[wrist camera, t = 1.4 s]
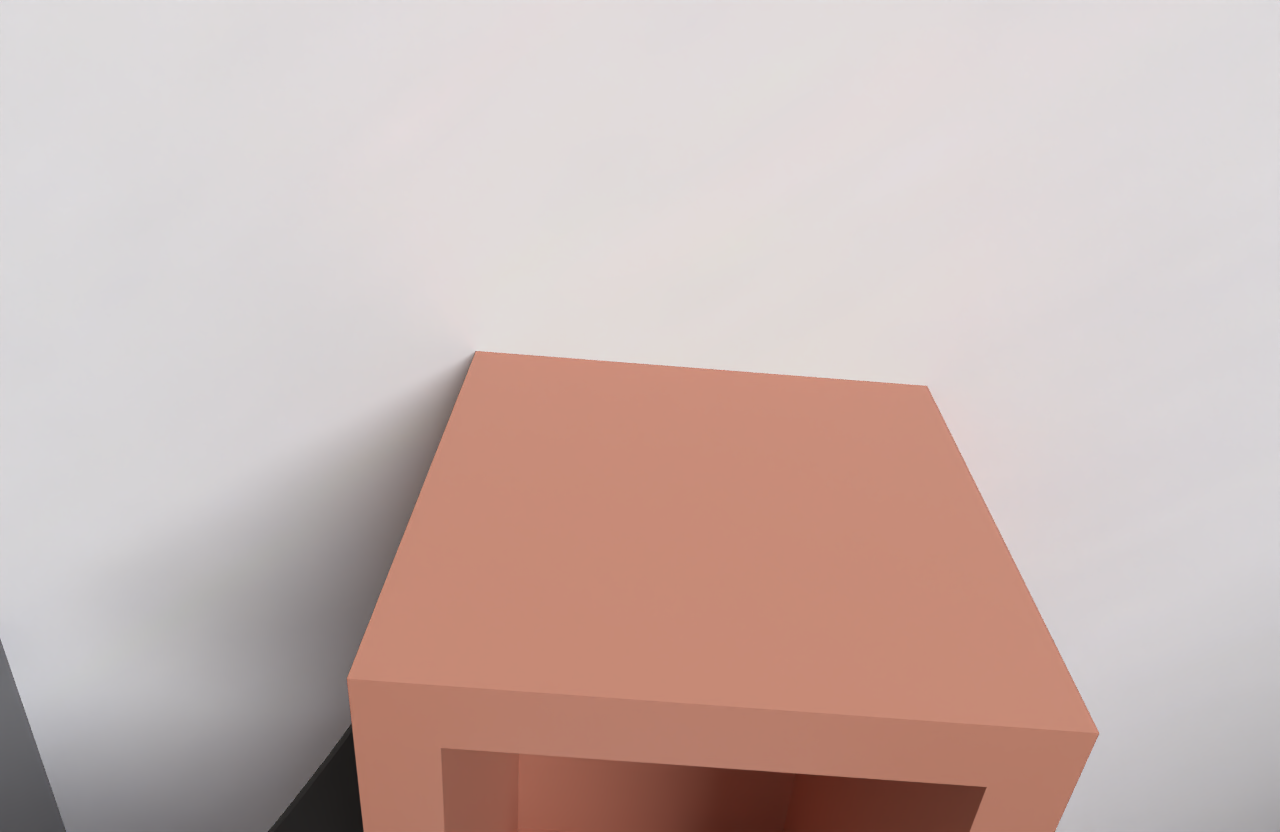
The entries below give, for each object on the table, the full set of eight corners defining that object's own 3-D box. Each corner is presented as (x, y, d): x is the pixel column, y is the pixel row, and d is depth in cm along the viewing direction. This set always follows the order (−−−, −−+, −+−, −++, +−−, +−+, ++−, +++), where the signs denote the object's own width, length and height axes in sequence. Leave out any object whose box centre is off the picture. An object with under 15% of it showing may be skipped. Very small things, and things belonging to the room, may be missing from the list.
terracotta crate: (808, 839, 15) (866, 1245, 10) (483, 815, 15) (406, 1216, 10) (924, 381, 11) (1100, 733, 6) (477, 346, 11) (348, 677, 6)
